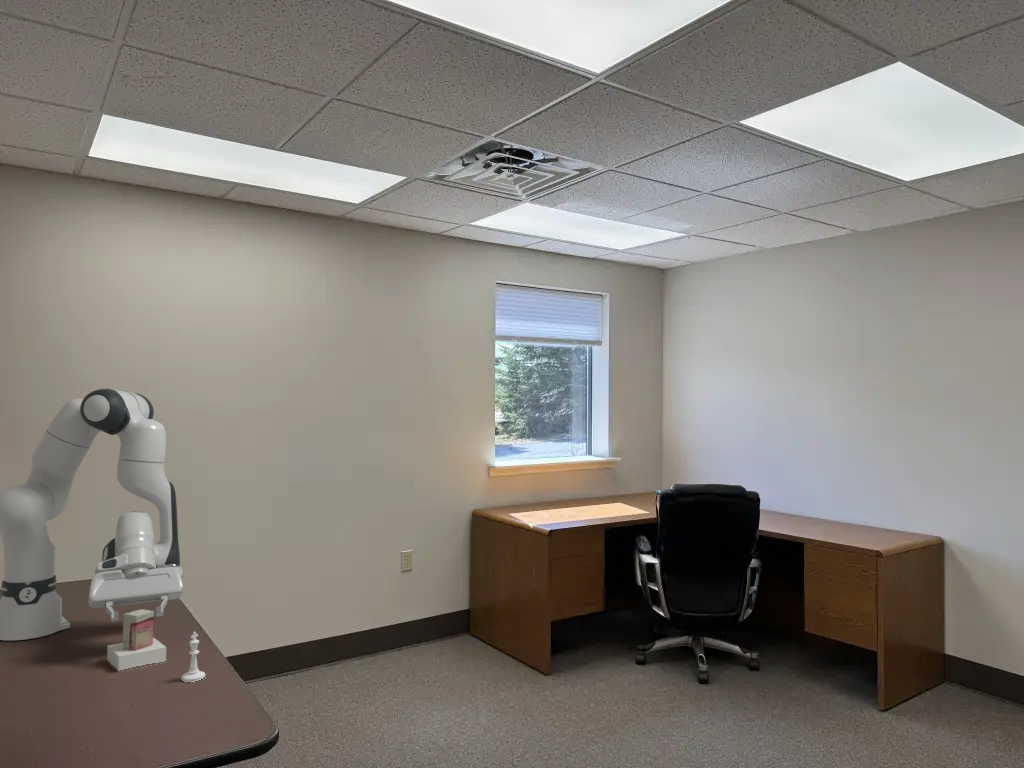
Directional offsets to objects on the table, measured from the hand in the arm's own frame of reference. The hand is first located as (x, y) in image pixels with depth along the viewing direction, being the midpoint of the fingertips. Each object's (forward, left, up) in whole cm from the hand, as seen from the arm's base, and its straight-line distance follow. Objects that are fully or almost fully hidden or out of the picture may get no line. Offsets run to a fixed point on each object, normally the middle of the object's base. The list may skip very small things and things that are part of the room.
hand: (137, 617), depth 173 cm
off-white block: (+1, 0, -10) cm, 10 cm away
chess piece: (+20, +10, -10) cm, 24 cm away
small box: (+2, 0, -6) cm, 7 cm away
